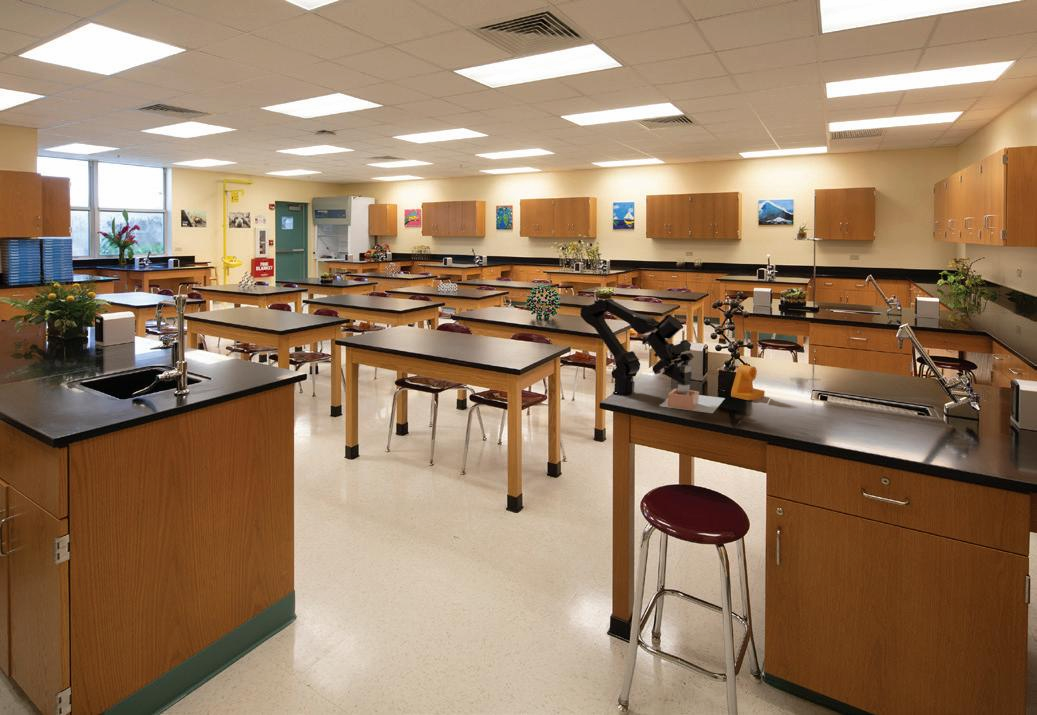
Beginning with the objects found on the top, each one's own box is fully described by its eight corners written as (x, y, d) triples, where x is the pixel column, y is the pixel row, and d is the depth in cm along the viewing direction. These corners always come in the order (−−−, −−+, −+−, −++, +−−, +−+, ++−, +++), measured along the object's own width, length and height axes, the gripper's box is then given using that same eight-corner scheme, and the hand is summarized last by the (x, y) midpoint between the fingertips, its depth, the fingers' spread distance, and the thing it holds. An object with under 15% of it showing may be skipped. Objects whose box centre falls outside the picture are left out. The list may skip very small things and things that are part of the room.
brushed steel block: (673, 400, 206) (675, 365, 203) (682, 398, 208) (684, 363, 206) (683, 403, 202) (686, 367, 200) (692, 401, 204) (694, 365, 202)
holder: (667, 406, 204) (668, 393, 203) (673, 400, 211) (674, 388, 210) (692, 409, 200) (693, 396, 199) (698, 403, 207) (699, 391, 206)
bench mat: (658, 406, 204) (658, 405, 204) (675, 393, 223) (675, 392, 223) (712, 414, 196) (712, 413, 196) (725, 399, 215) (725, 398, 215)
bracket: (748, 402, 210) (751, 369, 208) (730, 398, 216) (733, 366, 214) (765, 398, 217) (767, 366, 215) (747, 394, 222) (749, 362, 220)
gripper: (661, 335, 197) (689, 373, 191) (690, 329, 210) (717, 365, 204) (640, 355, 204) (667, 392, 198) (669, 348, 217) (695, 383, 211)
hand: (687, 382), depth 203 cm, fingers closed on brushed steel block, 4 cm apart
